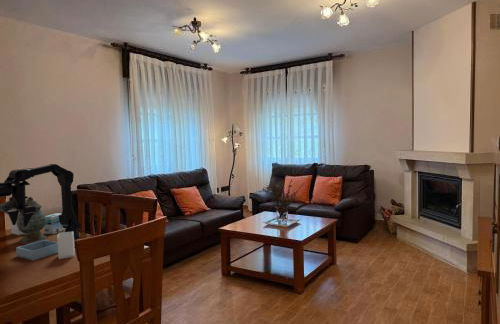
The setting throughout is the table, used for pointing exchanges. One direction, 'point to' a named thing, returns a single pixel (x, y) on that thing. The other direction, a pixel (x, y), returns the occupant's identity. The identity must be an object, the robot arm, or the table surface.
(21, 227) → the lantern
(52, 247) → the tray
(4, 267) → the table surface
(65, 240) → the white upright carton
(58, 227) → the light bulb box
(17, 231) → the supplement box
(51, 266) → the table surface
